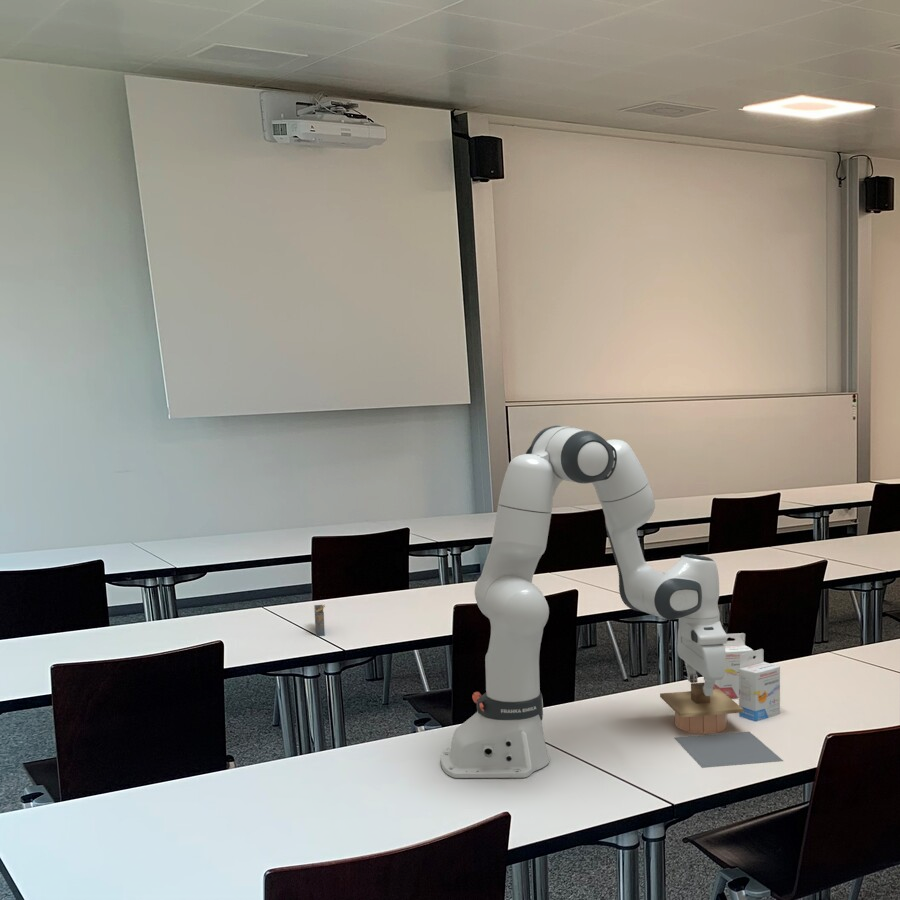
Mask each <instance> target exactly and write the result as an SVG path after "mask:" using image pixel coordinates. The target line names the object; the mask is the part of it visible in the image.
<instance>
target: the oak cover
mask: <svg viewBox="0 0 900 900" xmlns="http://www.w3.org/2000/svg"><path fill="white" fill-rule="evenodd" d="M704 683H705V682H696V683H691V682H690V691H677V692H664V693H659V698H660V699H661V700H662V701H664V702H665V703H666V704H667V706H668V707H670V708H671V709H672V710H673V711H674V713H675V712H676V713H677V714H678V715H679V716H680V717H692V716H705V715H718V714H727V715H728V714H739V713H743V708H742V707H740V706H739V703H737V702H736V701H734V699H733V698H729V697H728V696H727V695H726V694H724V693H723V692H722V691H721V690H720V689H714V690H713V695H712V696H706V695H704V694H703V686H704Z"/></svg>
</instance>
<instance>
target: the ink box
mask: <svg viewBox="0 0 900 900" xmlns="http://www.w3.org/2000/svg"><path fill="white" fill-rule="evenodd" d="M764 652H765V651H764V649H763V648H759V649H757V650H753V651H752V652H748V653H745V654H741V655H740V661H739V698H738V705H739V706H740V707H742V708H743V713H738V714H739V717H740V718H743V719H747V720H750V721H752V722H759V721H762V720H766V719H769V718H772V717H775V716H779V715H781V666H779V665H778V664H777V665H776V664H773V663H769V662H766V661H764ZM751 655H752V656H753V659H750V660H747V658H748V657H750V656H751Z"/></svg>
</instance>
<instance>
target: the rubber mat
mask: <svg viewBox="0 0 900 900" xmlns="http://www.w3.org/2000/svg"><path fill="white" fill-rule="evenodd" d="M673 739H674V740H675V741H676V743H678V745H680V746H681V747H682V748H683V750H684V751H686V753H687V754H688V755H689V756H690V757H691V758H692V759H693V761H695V762H696V763H697V765H699V766H700V768H702V769H704V768H716V767H728V766H729V767H730V766H739V765H740V766H742V765H753V764H764V763H765V764H766V763H767V764H768V763H777V762H784V760H783V759H782V758H781V757H780V756H779V755H777V754H776V753H775V752H774V751H773V750H772V749H771V748H769V747H768V746H767V745H766V744H765V743H763V741H761V740H760V739H758V737H756V736H755V735H754V733H752V732H751V731H738V732H727V733H726V732H725V733H711V734H702V735H701V734H700V735H689V736H676V737H675V736H674V737H673Z"/></svg>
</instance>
